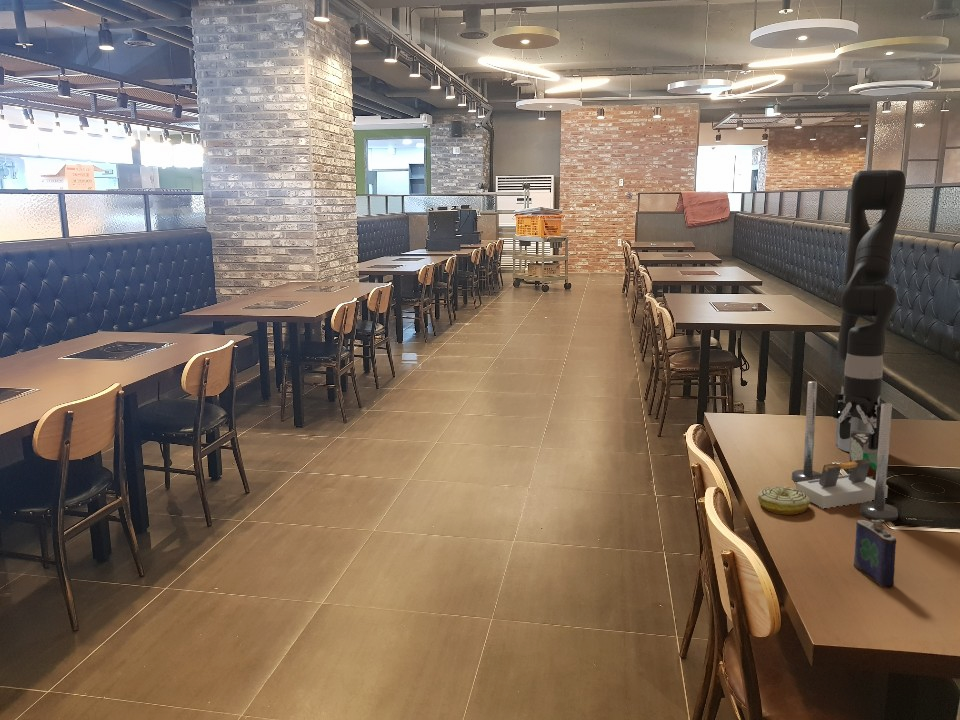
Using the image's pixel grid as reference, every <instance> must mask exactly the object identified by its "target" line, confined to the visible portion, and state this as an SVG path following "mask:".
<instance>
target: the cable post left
mask: <svg viewBox="0 0 960 720" xmlns="http://www.w3.org/2000/svg"><path fill="white" fill-rule="evenodd" d="M806 390H807V391H806V393H807V394H806V395H807V396H806V409H805V410H806V413H805V429H804V430H805V432H804V450H803V451H804V452H803V456H804V457H803V468H802V469H797V470H794V471H792V472H791V480H793V481H794V483H795V482H802V481H809V480H815V479H820V478H821V474H822V472H819V471H815V470H813V467H814V466H813V465H814V447H815V429H816V415H817V414H816V410H817V393H818V382H817V381H814V380H809V381H807V389H806ZM793 481H792V482H793Z"/></svg>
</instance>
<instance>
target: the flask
mask: <svg viewBox="0 0 960 720" xmlns="http://www.w3.org/2000/svg"><path fill="white" fill-rule="evenodd" d="M870 520H871V519H870ZM882 523H884V520H881V519H880V521H879V520H871V521H868V520H866V519H865V520H864V519H859V520H856V523H855V529H856V530H855V541H854V557H853V566H854V568H855V569H856V570H857V571H860V572H861V573H862V574H863V575H864V576H866V577H868V578H870V579H871V581H875V584H877V585H879V586H880V587H882V588H885V589H887V590H888V589H893V588H894V587H895V582H894V581H895V571H896V570H895V562H896V561H895V560H896V547H897V546H896V545H897V538H896V537H895V536H893V535H892V534H891V532H889V531H887V530H886V527H885V525H883V524H882Z"/></svg>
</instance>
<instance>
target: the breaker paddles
mask: <svg viewBox="0 0 960 720" xmlns="http://www.w3.org/2000/svg"><path fill="white" fill-rule="evenodd" d="M870 464H871V462H869V461H868V460H867V459H861V460H855V461H854V462H849V461H848V462H842V463H828V464H824V465H823V468H822V471H821V478H820V481H819V484H820V485H821V486H822V487H823V488H825V487H831V486H836V483H837V479H838V476H840V472H841V470H849V468H852V469H851V472H850V471H849V474H850V475H849V480H850V481H852V482H853V483H856V482H863V481H865V480H866V476H867V473H868V470H869V467H870Z"/></svg>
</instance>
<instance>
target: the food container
mask: <svg viewBox="0 0 960 720" xmlns="http://www.w3.org/2000/svg"><path fill="white" fill-rule="evenodd" d="M868 443H869V432H863V431H853V430H850V452H849V457H848V459H849V461H848V462H854V461H855V460H861V459H867V460H868V461H869V462H871V464H870V467H869V470H868V473H867V476H866V477H868V478H870V479H873V480H875V481H876V468H877V454H878V449H876V450H871V449H869V448H868ZM849 469H850V470H851V469H852V468H848V470H849ZM850 470H849V471H850Z"/></svg>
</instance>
